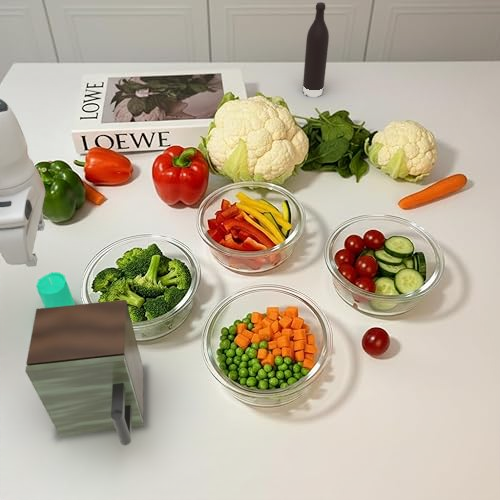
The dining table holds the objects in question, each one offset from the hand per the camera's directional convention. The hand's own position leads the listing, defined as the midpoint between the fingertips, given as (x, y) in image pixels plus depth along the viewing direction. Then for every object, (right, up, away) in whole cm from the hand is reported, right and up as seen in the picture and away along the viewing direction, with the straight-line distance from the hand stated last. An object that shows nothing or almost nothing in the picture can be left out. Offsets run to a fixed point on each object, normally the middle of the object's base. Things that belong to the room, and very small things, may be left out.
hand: (36, 245), depth 101 cm
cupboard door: (+13, -36, -4) cm, 39 cm away
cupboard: (+12, -29, +3) cm, 32 cm away
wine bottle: (+61, +53, +86) cm, 118 cm away
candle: (-1, -15, +18) cm, 23 cm away
